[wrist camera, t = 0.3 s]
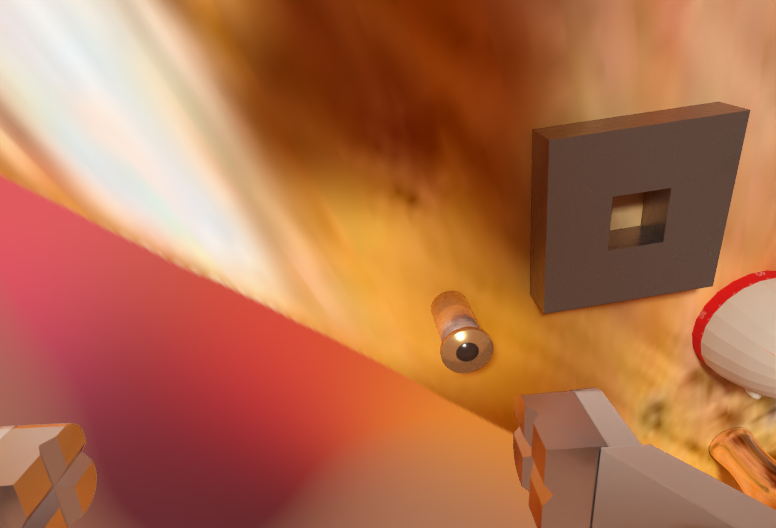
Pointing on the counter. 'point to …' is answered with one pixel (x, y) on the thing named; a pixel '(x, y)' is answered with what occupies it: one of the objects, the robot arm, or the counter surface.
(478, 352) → the bushing
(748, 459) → the beer glass
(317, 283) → the counter surface
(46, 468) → the robot arm
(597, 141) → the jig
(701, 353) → the kitchen timer
